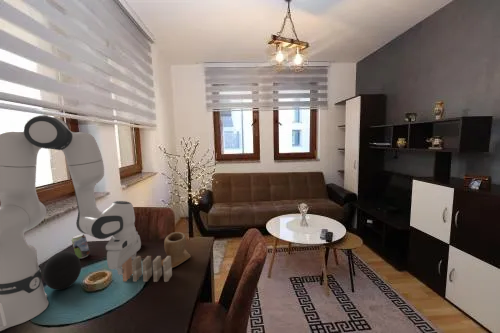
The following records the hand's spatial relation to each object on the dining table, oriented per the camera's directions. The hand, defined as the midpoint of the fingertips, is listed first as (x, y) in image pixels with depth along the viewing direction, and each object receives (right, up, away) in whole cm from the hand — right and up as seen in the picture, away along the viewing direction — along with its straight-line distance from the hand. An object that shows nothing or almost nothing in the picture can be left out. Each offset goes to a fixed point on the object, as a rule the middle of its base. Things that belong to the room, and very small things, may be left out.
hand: (127, 268), depth 106 cm
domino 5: (+18, -4, 0) cm, 19 cm away
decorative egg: (-23, -6, -5) cm, 25 cm away
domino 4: (+14, -4, 0) cm, 14 cm away
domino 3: (+9, -5, 0) cm, 10 cm away
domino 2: (+5, -5, 0) cm, 6 cm away
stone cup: (+18, -3, +13) cm, 23 cm away
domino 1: (0, -5, +1) cm, 5 cm away
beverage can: (-34, -3, +21) cm, 40 cm away
